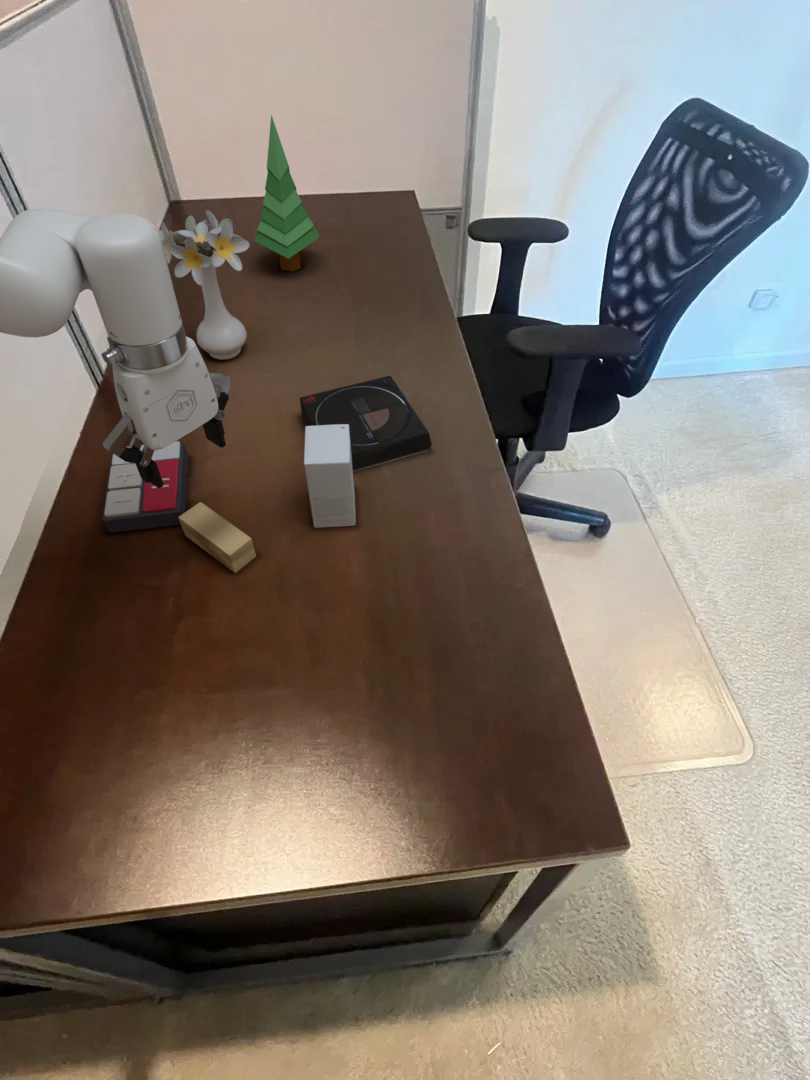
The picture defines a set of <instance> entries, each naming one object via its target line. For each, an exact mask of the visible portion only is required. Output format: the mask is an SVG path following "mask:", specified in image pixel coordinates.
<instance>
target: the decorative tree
mask: <svg viewBox="0 0 810 1080" xmlns="http://www.w3.org/2000/svg"><path fill="white" fill-rule="evenodd" d="M268 136H269V137H268V146H267V147H268V148H267V159H266V169H267V175H266V181H265V186H264V190H265V193H264V196H263V201H262V206H263V207H262V210H261V213H260V217H259V218H260V222H259V225H258V226H257V229H256V230H257V233H256V235H255V238H254V242H255V243H256V244H259V245H261V246H262V247H264V248H267V249H269V250H271V251H273V253H274V252H275V253H276V254H278V255H279V262H280V270H283V271H286V272H287V271H288V272H294V271H296V270H299V269H301V267H302V266H301V265H302V264H301V255H300V251H302V250H303V249H305V248H306V247H307V246H309V245H310V244H311V243H313V242H315V241H316V240H317V239H319V238H320V236H319V235H320V234H319V231H318V230H317V228H316V227H315V226H314V223H313V221H312V219H310V217H309V214H308V212H307V210H306V209H305V207H304V205H303V201H302V198H301V197H300V195H299V194H298V192H297V191H298V190H297V186H296V184H295V182H294V180H293V179H294V178H293V176H292V174H291V172H290V171H291V170H290V165H289V163H288V159H287V156H286V154H285V150H284V148H283V144H282V142H281V139H280V135H279V133H278V130H277V127H276V124H275V121H274V118H273V116H272V114H271V115H270V125H269V135H268Z"/></svg>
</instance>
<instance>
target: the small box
mask: <svg viewBox="0 0 810 1080" xmlns="http://www.w3.org/2000/svg"><path fill="white" fill-rule="evenodd" d="M303 442H304V443H303V444H304V445H303V468H304V474H305V479H306V486H307V492H308V498H309V499H308V500H309V505H310V511H311V519H312V524H313V528H315V529H318V528H319V529H320V528H336V527H337V528H338V527H339V528H340V527H353V526H356V525H357V524H356V522H357V521H356V495H355V494H356V492H355V491H356V490H355V482H354V480H355V479H354V472H353V469H352V456H351V443H350V431H349V424H337V425H317V426H307V425H306V426H304V440H303Z"/></svg>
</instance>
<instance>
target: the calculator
mask: <svg viewBox="0 0 810 1080" xmlns="http://www.w3.org/2000/svg"><path fill="white" fill-rule="evenodd" d="M126 447H128V448H129V445H127V446H126ZM143 447H144V444H142V446H141V448H140V450H141V451H142V450H143ZM152 460H153V461H155V462H156V464H157V467H158V469H159V472H160V475H161V478H162V481H163V487H161V488H157V487H156V486H155V485H153V484H152V483H150V482H149V483H146V482H145V481H144V480H143V479H142V478H141V477H140V474H139V472H138V469H137V466H136V464H135V463H130V462H125V461H124V460H122V459H121V458H119V457H118V456H116V455H114V454H113V453H111V452H110V460H109V467H108V474H107V480H106V487H105V496H104V503H103V509H102V518H101V521H102V522H103V524H104V526H105V528H106V531H108V533H111V534H112V533H121V532H131V531H140V530H147V529H154V528H163V527H164V528H165V527H173V526H181V523H180V520H179V518H178V517H179V516H181V515H182V514H184V513H185V512H186V504H187V483H188V481H187V480H188V479H187V478H188V473H189V461H190V460H189V454H188V451H187V448H186V445H185V443H184V441H183V440H177V441H175V442H174V443H172V444H170V445H168V446H167V447H165V448H163V449H160V450H155V451H154V453H153V456H152Z"/></svg>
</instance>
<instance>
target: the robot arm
mask: <svg viewBox="0 0 810 1080" xmlns="http://www.w3.org/2000/svg"><path fill="white" fill-rule="evenodd" d="M168 265H169V264H168V263H167V261H166V257H165V253H164V249H163V245H162V242H161V238H160V235H159V233H158V230H157V227H156V226H155V225H154V223H152V222H151V221H150V220H149V219H148V218H146V217H144V216H141V215H139V214H136V213H130V212H129V213H127V212H117V213H115V212H114V213H108V214H103V215H99V216H97V215H96V216H95V215H88V214H82V213H75V212H70V211H64V210H59V209H51V208H44V207H43V208H41V207H40V208H37V207H36V208H30V209H26V210H24V211H21V212H19V213H18V214H16V215H15V216H14V217H13V218H12V219H11V221H10V222H9V224H8V225H7V227H6V228H5V230H4V231H3V233H2V235H1V236H0V333H1V334H5V335H10V336H16V337H21V338H41V337H47V336H50V335H53V334H55V333H57V332H58V331H59V330H61V329H62V328H64V326H65V325H66V324H67V323H68V321H69V319H70V317H71V315H72V314H73V311H74V308H75V306H76V303H77V300H78V298H79V295H80V293H82V292H84V291H85V290H90V291H91V292H92V294H93V297H94V300H95V303H96V306H97V309H98V312H99V314H100V317H101V320H102V323H103V326H104V328H105V331H106V335H107V337H106V339H107V342H108V345H109V346H108V348H107V349H106V350H105V351H103V352H101V357H102V360H103V361H104V363H105V364H106V365H108V366H111V365H112V376H113V383H114V384H113V385H114V389H115V394H116V398H117V402H118V406H119V409H120V412H121V415H122V417H121V418H120V420H119V421H118V423H117V424H116V425H115V427H114V428H113V429H112V430H111V431H110V432H109V434H108V435H107V437H106V438H105V439H104V441H103V442H102V447H103V448H105V449H106V450H107V451H108V452H110V454H111V453H113V454H114V455H116V456H118V457H119V458H121V459H122V460H124V461H125V462H130V463H135V464H136V466H137V469H138V472H139V474H140V477H141V478H142V479H143V480H144V481H145V482H146V483H149V482H150V483H152V484H153V485H155V486H156V487H157V488H161V487H163V481H162V478H161V475H160V472H159V469H158V467H157V464H156V462H155V461H153V460H152V456H153V453H154V451H155V450H160V449H163V448H165V447H167V446H168V445H170V444H172V443H174V442H175V441H179V440H181V439H182V438H184V437H185V436H187V435H188V434H190V433H192V432H193V431H195V430H197V429H198V428H199V427H201V426H202V427H203V431H204V435H205V438H206V440H208V441H210V442H211V443H213V444H214V445H216V446H217V447H218V448H224V447H226V446H227V443H226V439H225V429H224V428H225V427H224V424H223V421H222V420H223V419H224V418H225V416H226V415H225V412H224V410H225V408H226V406H227V405H228V401H229V400H230V395H229V393H230V389H231V384H232V377H230V376H229V375H227V374H225V373H223V372H209V369H208V368H207V365H206V363H205V361H204V358H203V356H202V354H201V352H200V349H199V348H198V346H197V344H196V342H195V341H194V339H192V338H191V337H188V336H187V335H186V332H185V328H184V327H185V326H184V324H183V320H182V315H181V312H180V308H179V305H178V300H177V297H176V293H175V287H174V285H173V284H174V283H173V280H172V276H171V273H170V269H169V266H168ZM130 436H132V437H131V440H130V442H129V444H128V446H129V448H128V447H127V446H124V444H125V442H126V441H127V439H128V438H129V437H130ZM142 445H144V447H143V450H142V451H141V450H140V448H141V446H142Z"/></svg>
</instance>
